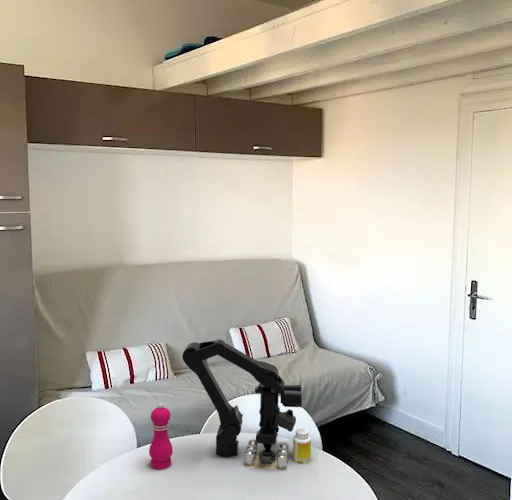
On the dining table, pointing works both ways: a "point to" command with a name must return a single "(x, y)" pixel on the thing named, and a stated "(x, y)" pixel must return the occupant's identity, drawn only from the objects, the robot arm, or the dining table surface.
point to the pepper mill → (160, 438)
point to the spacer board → (264, 466)
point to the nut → (266, 457)
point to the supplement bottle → (301, 446)
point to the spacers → (253, 451)
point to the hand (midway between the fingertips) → (268, 452)
